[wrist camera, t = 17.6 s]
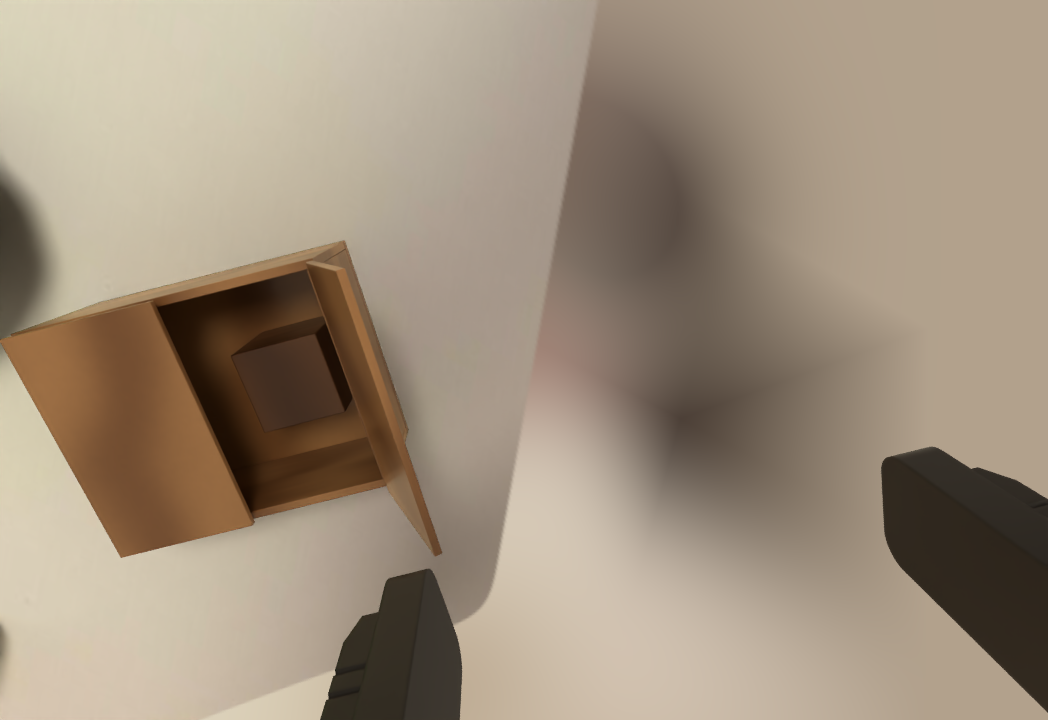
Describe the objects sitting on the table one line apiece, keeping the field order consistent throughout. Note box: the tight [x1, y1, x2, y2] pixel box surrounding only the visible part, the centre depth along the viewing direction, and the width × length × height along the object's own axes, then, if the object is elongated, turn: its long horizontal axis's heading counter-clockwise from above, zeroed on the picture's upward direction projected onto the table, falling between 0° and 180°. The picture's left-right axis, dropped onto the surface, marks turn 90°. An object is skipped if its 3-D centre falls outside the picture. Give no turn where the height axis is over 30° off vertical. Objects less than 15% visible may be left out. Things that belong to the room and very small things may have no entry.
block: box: [231, 316, 353, 433], centre depth 29 cm, size 4×4×4 cm
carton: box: [0, 241, 408, 558], centre depth 28 cm, size 13×11×7 cm
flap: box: [306, 261, 442, 557], centre depth 22 cm, size 6×11×1 cm
